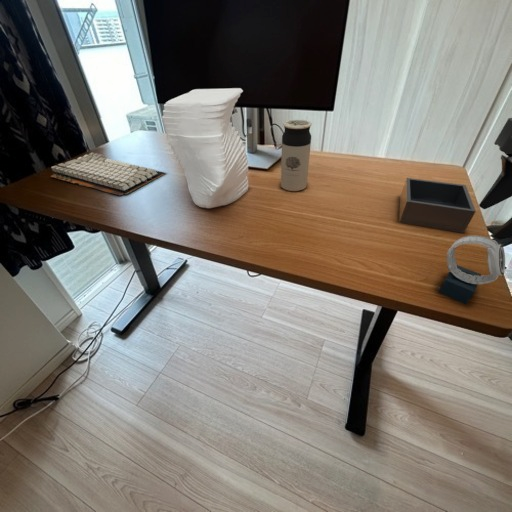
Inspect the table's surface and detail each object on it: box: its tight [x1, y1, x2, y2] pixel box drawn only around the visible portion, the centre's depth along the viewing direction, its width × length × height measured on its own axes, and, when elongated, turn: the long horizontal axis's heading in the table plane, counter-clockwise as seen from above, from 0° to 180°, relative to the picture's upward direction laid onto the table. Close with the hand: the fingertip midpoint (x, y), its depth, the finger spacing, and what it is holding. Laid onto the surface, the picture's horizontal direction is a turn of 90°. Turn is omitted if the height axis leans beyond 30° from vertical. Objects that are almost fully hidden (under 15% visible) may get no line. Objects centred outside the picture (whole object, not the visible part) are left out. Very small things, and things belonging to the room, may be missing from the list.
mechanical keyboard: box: [50, 152, 167, 196], centre depth 93 cm, size 38×19×3 cm, turn 63°
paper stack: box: [161, 87, 250, 209], centre depth 72 cm, size 21×27×26 cm
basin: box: [399, 177, 477, 234], centre depth 67 cm, size 14×14×6 cm
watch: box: [438, 235, 506, 305], centre depth 45 cm, size 6×8×11 cm
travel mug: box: [280, 119, 313, 192], centre depth 77 cm, size 8×8×18 cm
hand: (488, 221), depth 41 cm, fingers open, 9 cm apart
